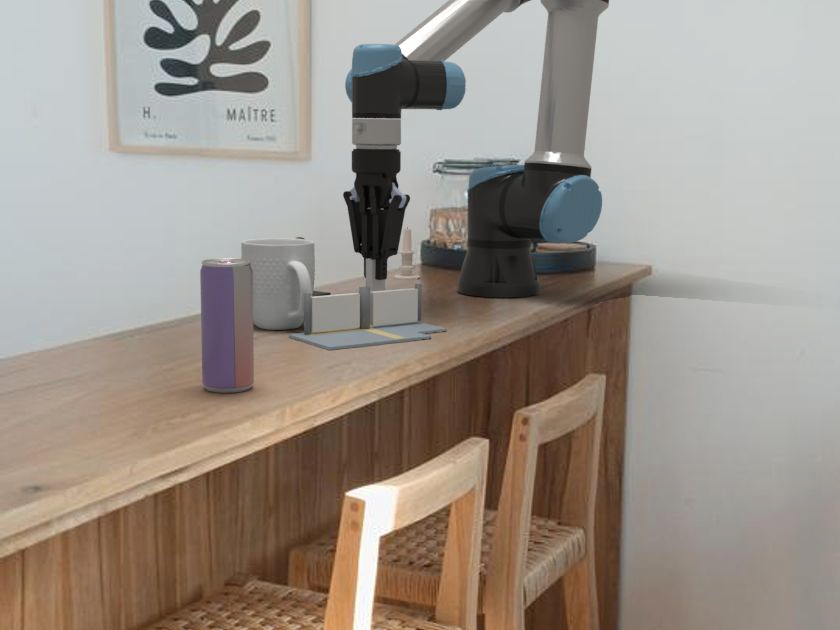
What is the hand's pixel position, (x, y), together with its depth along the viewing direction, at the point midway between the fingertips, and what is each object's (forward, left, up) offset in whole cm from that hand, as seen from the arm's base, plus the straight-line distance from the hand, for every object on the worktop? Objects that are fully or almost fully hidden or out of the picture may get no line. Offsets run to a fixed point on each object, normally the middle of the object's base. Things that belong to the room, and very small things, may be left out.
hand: (375, 299), depth 189 cm
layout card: (+7, +11, -4) cm, 13 cm away
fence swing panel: (0, +6, -3) cm, 7 cm away
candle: (-34, -41, -4) cm, 53 cm away
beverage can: (+40, +31, -4) cm, 51 cm away
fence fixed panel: (+11, +6, -4) cm, 13 cm away
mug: (+15, -3, -4) cm, 16 cm away
